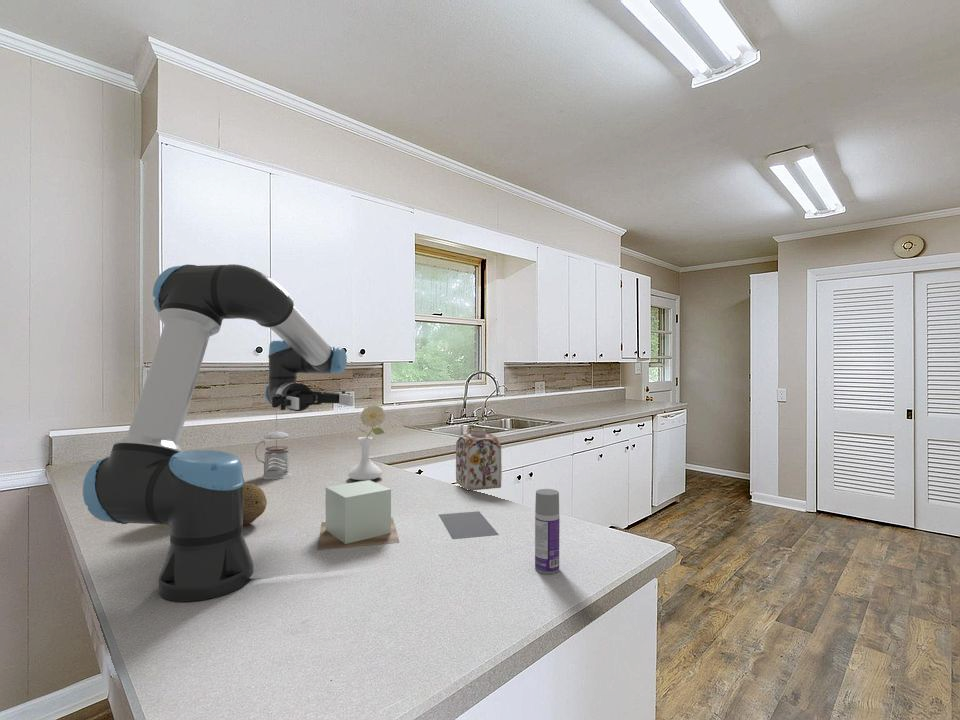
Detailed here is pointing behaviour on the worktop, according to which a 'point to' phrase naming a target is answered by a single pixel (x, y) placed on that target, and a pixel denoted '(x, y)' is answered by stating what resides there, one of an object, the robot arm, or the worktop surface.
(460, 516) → the mat
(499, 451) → the decorative jar
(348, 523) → the pale mint green cube
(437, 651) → the worktop surface
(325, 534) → the board
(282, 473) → the french press
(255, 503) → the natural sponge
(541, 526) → the container
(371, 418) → the flower in vase
